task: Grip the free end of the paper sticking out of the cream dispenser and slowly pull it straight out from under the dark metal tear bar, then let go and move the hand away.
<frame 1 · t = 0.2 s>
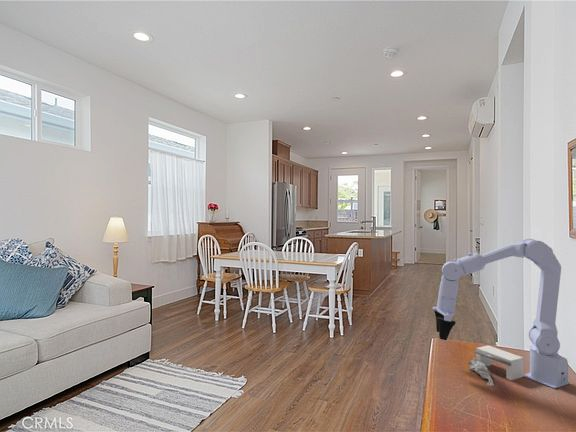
hand: (441, 335, 127), 10 cm above the table, tool pointing down, fingers open, 7 cm apart
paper: (482, 377, 119), on the table
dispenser: (498, 371, 122), on the table
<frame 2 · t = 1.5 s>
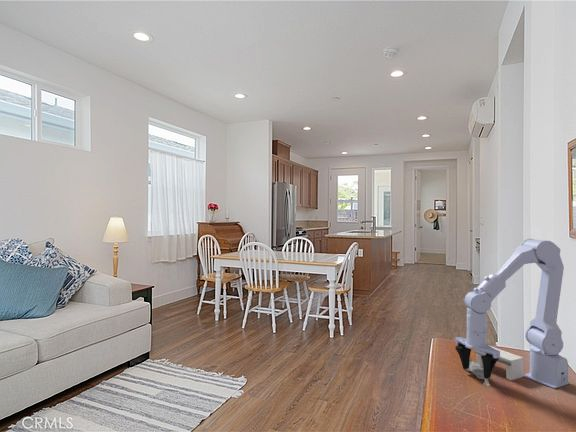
hand: (476, 372, 118), 2 cm above the table, tool pointing down, fingers open, 7 cm apart
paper: (477, 377, 119), on the table, touching gripper
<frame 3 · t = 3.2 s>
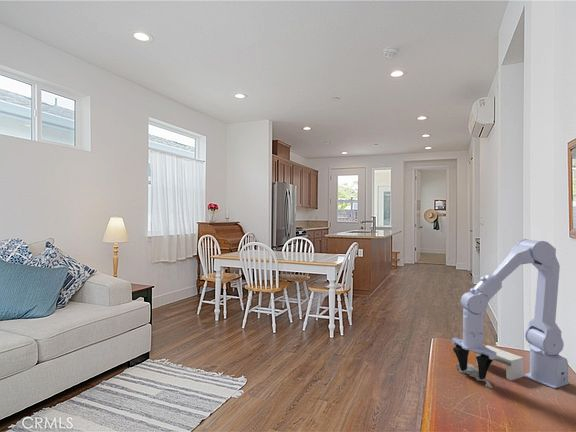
hand: (472, 374, 117), 1 cm above the table, tool pointing down, fingers closed on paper, 6 cm apart
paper: (474, 379, 118), on the table, touching gripper
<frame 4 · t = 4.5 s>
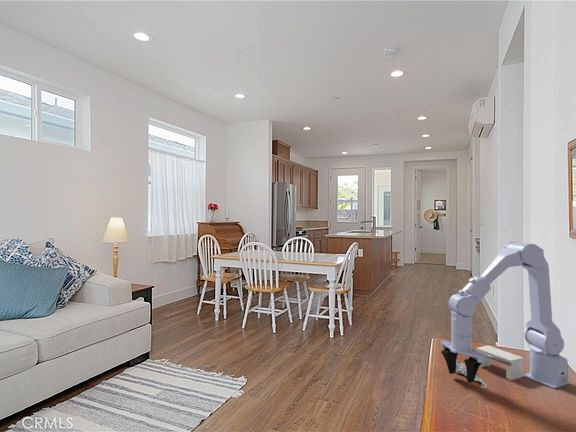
hand: (461, 377, 115), 1 cm above the table, tool pointing down, fingers open, 6 cm apart
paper: (470, 379, 117), on the table
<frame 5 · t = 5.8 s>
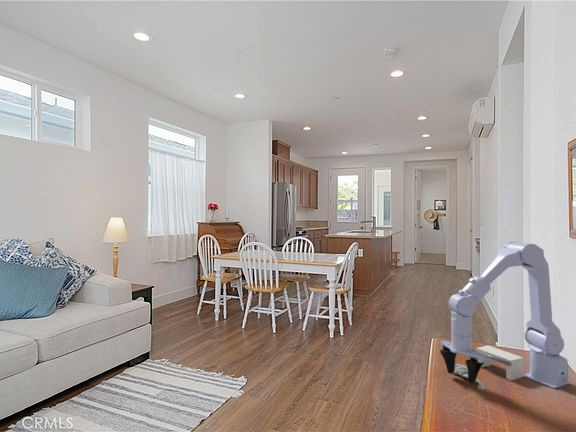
hand: (461, 377, 115), 1 cm above the table, tool pointing down, fingers open, 7 cm apart
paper: (467, 380, 117), on the table
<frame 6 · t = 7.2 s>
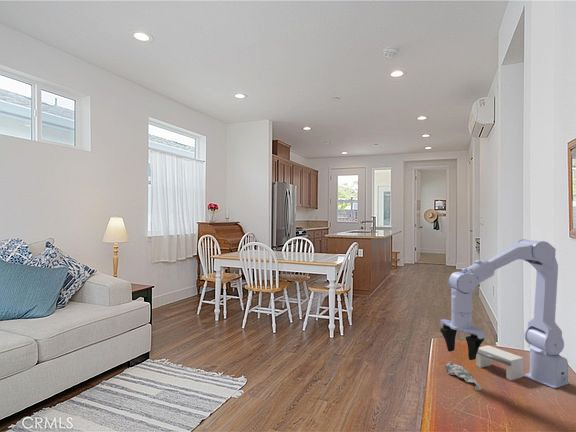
hand: (461, 354, 115), 8 cm above the table, tool pointing down, fingers open, 7 cm apart
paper: (463, 380, 117), on the table
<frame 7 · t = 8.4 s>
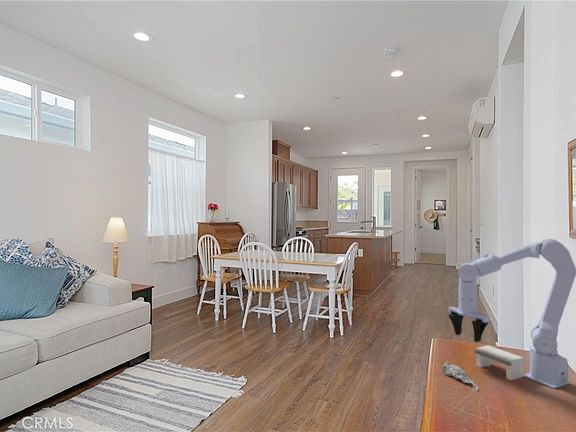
hand: (467, 337, 127), 9 cm above the table, tool pointing down, fingers open, 7 cm apart
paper: (461, 381, 116), on the table
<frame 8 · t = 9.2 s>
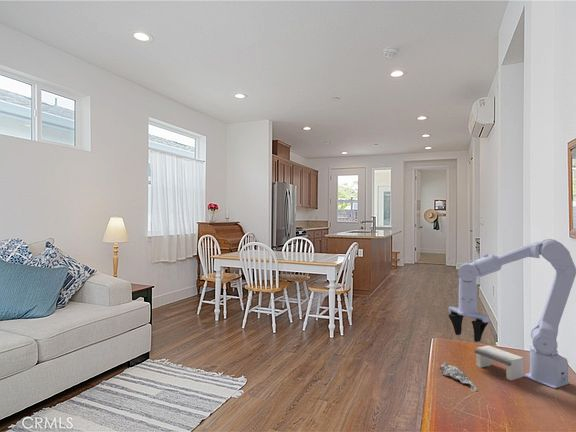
hand: (467, 337, 127), 9 cm above the table, tool pointing down, fingers open, 7 cm apart
at the end: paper inside the target area (1.2 cm from its centre), on the table; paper moved 10.4 cm from its start; the gripper is holding nothing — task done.
